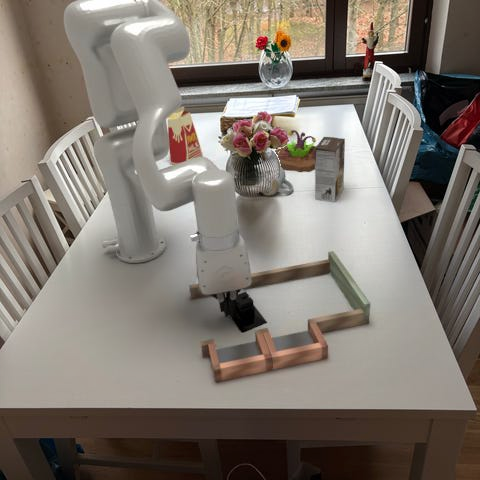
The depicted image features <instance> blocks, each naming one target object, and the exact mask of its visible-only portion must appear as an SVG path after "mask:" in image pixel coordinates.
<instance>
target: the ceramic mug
mask: <svg viewBox="0 0 480 480" xmlns="http://www.w3.org/2000/svg"><path fill="white" fill-rule="evenodd" d="M280 169H281V171H280V178H276V179H274V180H273V184H272V188H271V191H270V192H269V194H266V193H265V194H263V195H264V196H274V195H275V194H276V193H280V194H282V195H290V194H292V192H293V190H294V186H293V184H292V182H290V181H289V180H287V179H286V178H287V177H286V172H285V171H286V170H283V168H282V167H281V166H280ZM283 185H285V186H287V187H288V188H289V190H287V189H283V188H282V186H283Z"/></svg>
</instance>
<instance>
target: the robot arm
mask: <svg viewBox="0 0 480 480" xmlns="http://www.w3.org/2000/svg"><path fill="white" fill-rule="evenodd" d="M63 27H64V30H65V33H66V36H67V39H68V41H69V44H70V46H71V48H72V49H73V51H74V53H75V55H76V57H77V59H78V61H79V63H80V67H81V70H82V73H83V78H84V82H85V88H86V92H87V96H88V101H89V106H90V109H91V112H92V113H91V114H92V115H93V119H94V120H95V122H96V123H97V125H98V126H99V127H101V128H104V129H110V128H111V129H112V128H117V127H121V126H125V125H128V124H131V123H134V122H137V124H134V125H131V126H128V127H124V128H119V129H116V130H113V131H110V132H107V133H105V134H103V135H101V136H100V137H98V139H96V141H95V142H94V144H93V155H94V158H95V161H96V162H97V165H98V167H99V169H100V172H101V175H102V177H103V179H104V184H105V186H106V189H107V194H108V198H109V201H110V202H109V203H110V205H111V210H112V214H113V217H114V223H115V226H116V230H117V236H116V237H114V238H112V239H111V238H110V239H106V240H105V239H104V240H101V243H102V244H101V245H102V248H103V249H105V248H106V250H107V251H106V252H111V251H115V253H116V256H117V258H118V259H119V260H120V261H122V262H125V263H129V264H140V263H145V262H148V261H151V260H153V259H156V258H157V257H160V255H161V254H163V252H165V249H166V240H165V239H164V238H163V237H162V236H159V234H158V231H157V226H156V221H155V215H154V211H153V207H154V208H155V209H156V210H158V211H160V212H169V211H172V210H175V209H178V208H180V207H183V206H185V205H188V204H190V203H193V206H194V213H195V220H196V226H197V231H196V232H194V234H190V240H191V242H196V247H195V266H196V267H195V268H196V276H197V281H198V282H197V284H199V287H198V292H199V295H211V296H210V297H212V298H214V299H216V300H217V301H218V302H219V310H220V312H221V313H222V312H223V313H224V317H225V318H228V317H230V316H233V310H235V299H236V295H237V294H240V293H241V291H243V290H242V289H244V288H247V287H249V286H251V285H252V282H251V274H252V273H251V266H250V258H249V255H248V249H247V245H246V242H245V239H243V237H242V235H240V229H239V217H238V207H237V198H236V197H237V196H236V187H235V180H234V177H233V175H232V174H231V173H230V172H228V171H226V170H224V169H220V168H219V167H218V166H217V165H216V164H215V163H214V162H213V161H212V160H211V159H209V158H208V157H206V156H203V157H196V158H193V159H190V160H187V161H184V162H181V163H178V164H175V165H173V164H171V165H170V166H167V167H164V168H162V169H159V167H158V165H157V162H159V161H161V160H164V159H165V158H166V157H167V156H168V154H169V153H170V152H169V137H168V122H167V120H168V117H169V116H171V115H172V114H173V113H174V112H176V111H177V110H178V109H179V108H181V106H182V104H183V99H182V98H183V97H182V94H181V92H180V91H179V88H178V85H177V83H176V80H175V78H174V75H173V73H172V70H171V68H170V64H173V63H177V62H181V61H183V60H185V59H186V58H187V57H188V56H189V54H190V50H191V40H190V36H189V33H188V30H187V28H186V26H185V24H184V23H183V21H182V20H181V19H180V17H179V16H178V15H177V14H176V13H175V12H174V11H173V10H171V9H170V8H169V7H168V6H167V5H165V4H164V3H162V2H161V1H160V0H75V1H73V2H71V3H69V4H68V5H67V6H66V8H65V9H64V12H63ZM244 290H245V289H244ZM223 292H226V293H223ZM228 312H229V313H228Z"/></svg>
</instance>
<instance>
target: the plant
mask: <svg viewBox="0 0 480 480" xmlns="http://www.w3.org/2000/svg"><path fill="white" fill-rule="evenodd" d="M294 133H295V135H296V142H295V141H294V140H293V141H291V143H288V144H287V145H284V146H285V147H284V148H281V149H278V148H277V149H278V150H276V149H274V151H275V152H276V154H277V155H278V158H279V160H280V164H281V167H282V168H283V170H284V171H289V172H290V171H291V172H298V173H303V172H304V173H311V172H312V171H315V148H316V146H317V145H315V143H316V141H317V139H316V138H315V137H314V136H312V135H306V133H305V132H303V131H302V132H301V134H299V133H298V131H297V130H294V129H292V130H290V131H288V136H293V135H294ZM303 137H304V138H303ZM307 139H311V141H312V143H310V144H307ZM279 151H280V154H278V152H279Z"/></svg>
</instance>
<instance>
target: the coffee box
mask: <svg viewBox="0 0 480 480" xmlns="http://www.w3.org/2000/svg"><path fill="white" fill-rule="evenodd" d="M345 141H346V138H339V137H334V136H323V137H322V139H321V140H320V141H319V142H318V144H317V145H315V146H316V148H315V170H314V182H315V183H314V199H315V201H316V200H317V201H325V202H332V203H336V202H337V200H338V198H339V197H340V195H341V194H342V192H343V190H344V186H345V185H344V180H345V147H346V142H345Z"/></svg>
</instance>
